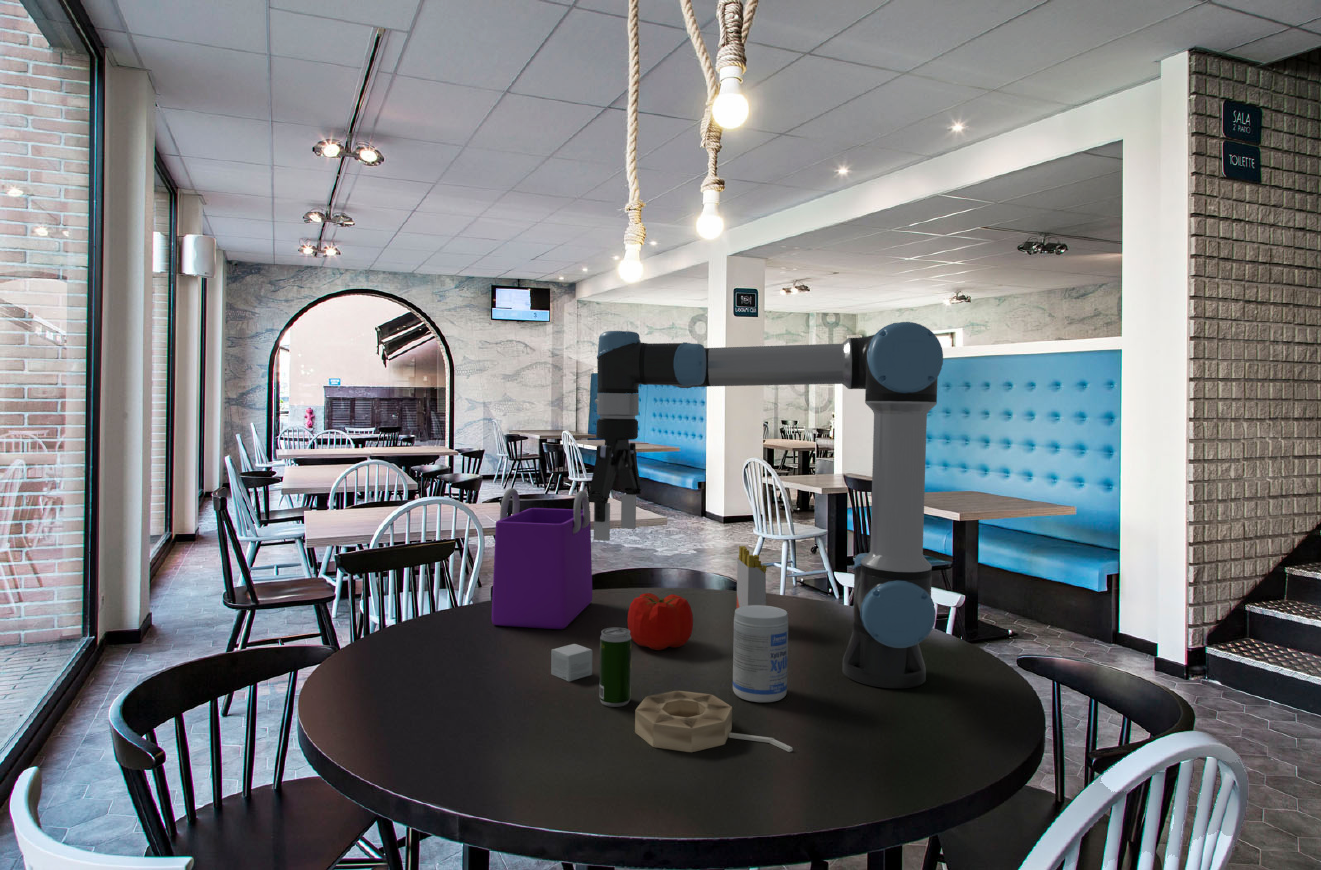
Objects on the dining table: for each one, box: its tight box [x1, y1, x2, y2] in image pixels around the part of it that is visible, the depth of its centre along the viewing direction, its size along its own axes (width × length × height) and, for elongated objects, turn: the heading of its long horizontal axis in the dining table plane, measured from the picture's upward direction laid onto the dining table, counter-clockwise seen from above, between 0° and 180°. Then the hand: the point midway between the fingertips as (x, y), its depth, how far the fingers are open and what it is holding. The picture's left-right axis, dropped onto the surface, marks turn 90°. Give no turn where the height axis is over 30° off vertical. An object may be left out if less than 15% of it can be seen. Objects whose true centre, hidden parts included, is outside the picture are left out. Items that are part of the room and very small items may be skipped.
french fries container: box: [736, 545, 768, 609], centre depth 177 cm, size 5×11×18 cm, turn 7°
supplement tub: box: [732, 605, 789, 703], centre depth 136 cm, size 10×10×15 cm
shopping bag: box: [491, 488, 593, 630], centre depth 186 cm, size 28×22×30 cm
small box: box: [550, 643, 593, 682], centre depth 145 cm, size 6×6×5 cm
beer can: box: [598, 626, 633, 708], centre depth 132 cm, size 5×5×12 cm
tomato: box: [627, 592, 694, 651], centre depth 163 cm, size 14×13×10 cm
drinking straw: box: [728, 732, 793, 753], centre depth 116 cm, size 10×3×1 cm, turn 74°
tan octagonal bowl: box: [634, 690, 733, 753], centre depth 120 cm, size 14×14×4 cm
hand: (615, 534), depth 141 cm, fingers open, 13 cm apart
